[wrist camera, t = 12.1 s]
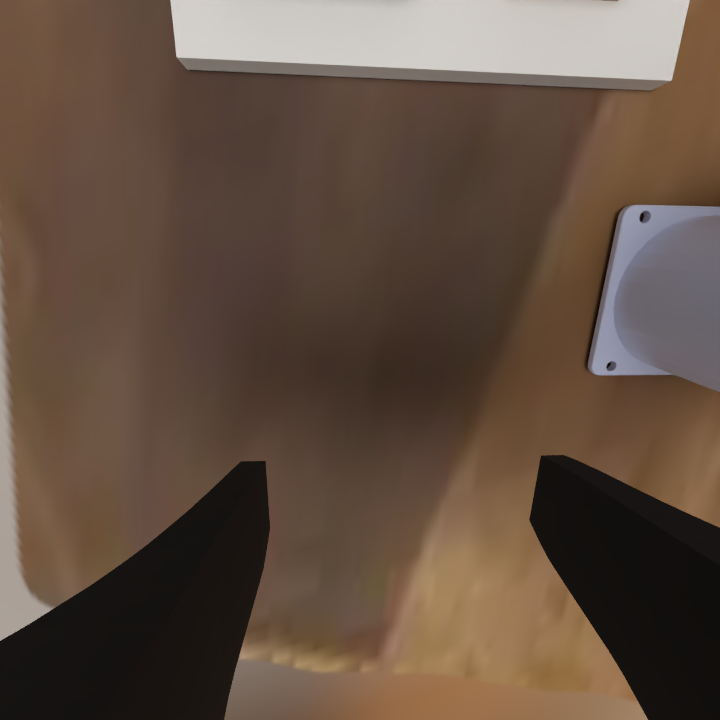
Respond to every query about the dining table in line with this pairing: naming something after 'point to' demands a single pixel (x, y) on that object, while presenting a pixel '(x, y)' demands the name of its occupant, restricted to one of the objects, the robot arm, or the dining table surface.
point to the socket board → (438, 39)
